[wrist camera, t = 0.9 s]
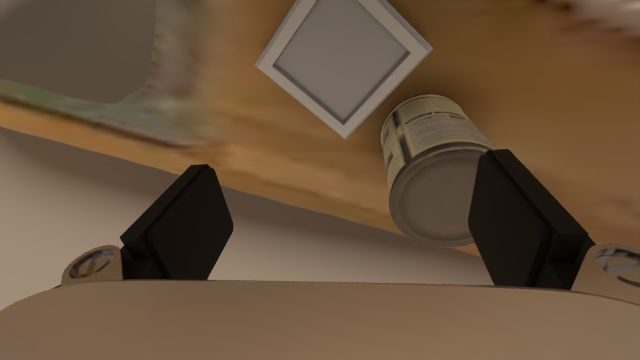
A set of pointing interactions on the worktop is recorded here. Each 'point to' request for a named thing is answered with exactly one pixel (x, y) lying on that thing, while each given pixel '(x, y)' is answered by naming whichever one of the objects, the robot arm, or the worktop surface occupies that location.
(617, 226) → the worktop surface
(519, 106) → the worktop surface
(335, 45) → the pedestal
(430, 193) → the coffee can
